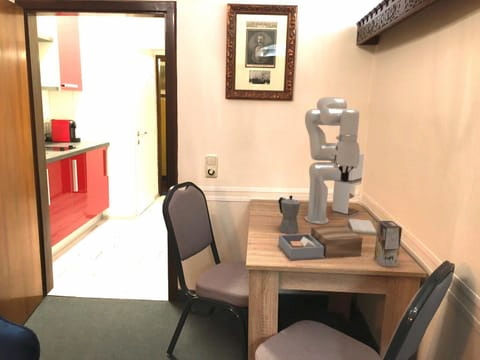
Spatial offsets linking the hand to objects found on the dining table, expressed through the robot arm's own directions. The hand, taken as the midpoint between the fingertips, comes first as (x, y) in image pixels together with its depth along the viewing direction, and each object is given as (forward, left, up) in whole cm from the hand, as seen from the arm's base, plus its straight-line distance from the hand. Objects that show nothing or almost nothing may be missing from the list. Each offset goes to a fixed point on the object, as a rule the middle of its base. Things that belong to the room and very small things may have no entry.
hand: (344, 181), depth 168 cm
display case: (-44, +26, -29) cm, 59 cm away
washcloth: (-19, +22, -30) cm, 42 cm away
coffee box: (+21, +10, -29) cm, 37 cm away
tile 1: (+4, -22, -26) cm, 34 cm away
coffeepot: (-21, -17, -29) cm, 40 cm away
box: (+6, -21, -29) cm, 36 cm away
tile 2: (+7, -17, -25) cm, 31 cm away
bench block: (+6, -5, -29) cm, 30 cm away
